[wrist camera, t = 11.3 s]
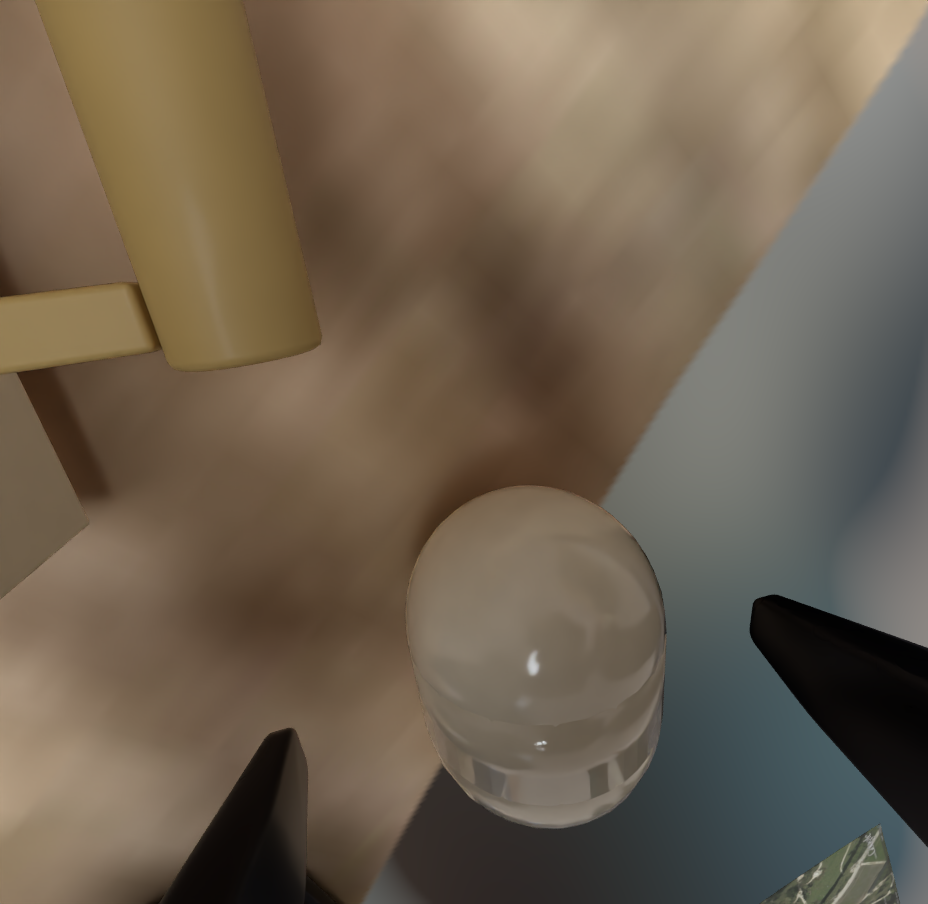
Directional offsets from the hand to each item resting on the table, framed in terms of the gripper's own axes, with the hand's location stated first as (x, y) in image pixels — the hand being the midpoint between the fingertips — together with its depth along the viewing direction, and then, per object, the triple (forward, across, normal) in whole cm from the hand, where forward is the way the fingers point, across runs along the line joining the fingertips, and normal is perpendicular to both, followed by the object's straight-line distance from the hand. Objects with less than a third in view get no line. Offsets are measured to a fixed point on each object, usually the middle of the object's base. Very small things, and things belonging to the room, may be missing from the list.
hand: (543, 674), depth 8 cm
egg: (+1, 0, 0) cm, 1 cm away
